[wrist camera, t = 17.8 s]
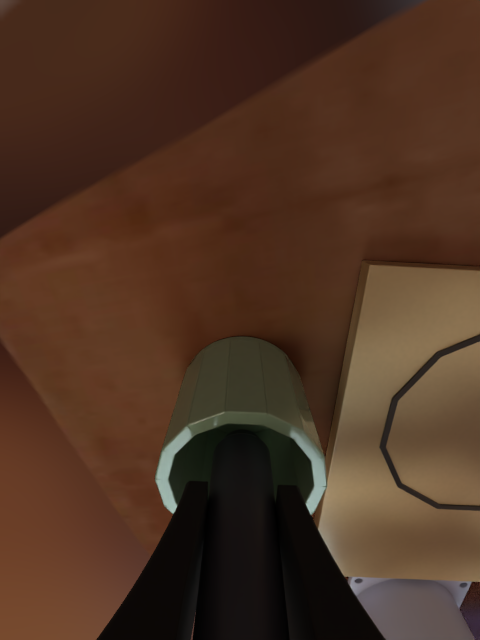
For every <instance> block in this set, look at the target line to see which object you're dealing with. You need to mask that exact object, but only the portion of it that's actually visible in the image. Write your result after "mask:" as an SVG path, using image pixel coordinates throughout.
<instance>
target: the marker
mask: <svg viewBox="0 0 480 640" xmlns="http://www.w3.org/2000/svg"><path fill="white" fill-rule="evenodd" d="M193 640H290V637H289V627H288V618H287V609H286V599H285V590H284V580H283V571H282V562H281V552H280V543H279V533H278V524H277V515H276V505H275V496H274V487H273V477H272V468H271V458H270V452H269V449H268V447H267V445H266V444H265V443H264V442H263V441H262V440H261V439H259V437H258V436H257V435H256V434H255V433H253V432H252V431H249V430H245V429H238V430H234V431H232V432H230V433H228V434H227V435H226V436H225V438H224V439H222V440H221V441H220V442H219V443H218V444H217V446H216V448H215V450H214V453H213V462H212V471H211V480H210V489H209V498H208V507H207V516H206V525H205V534H204V543H203V552H202V561H201V570H200V579H199V588H198V597H197V605H196V614H195V623H194V632H193Z"/></svg>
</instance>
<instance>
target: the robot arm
mask: <svg viewBox="0 0 480 640" xmlns="http://www.w3.org/2000/svg"><path fill="white" fill-rule="evenodd" d="M275 505H276V515H277V524H278V533H279V543H280V552H281V562H282V571H283V580H284V590H285V599H286V609H287V618H288V627H289V637H290V640H475V639H474V637H473V635H472V633H471V631H470V629H469V627H468V625H467V623H466V621H465V619H464V617H463V615H462V614H461V612H460V610H459V608H460V606H461V604H462V602H463V599H464V597H465V595H466V593H467V591H468V589H469V587H470V585H471V583H472V582H470V581H445V580H420V579H395V578H370V577H349V579H348V582H347V580H346V579H345V577H344V575H343V574H342V572H341V570H340V569H339V567H338V565H337V563H336V562H335V560H334V558H333V556H332V555H331V553H330V551H329V549H328V547H327V545H326V544H325V542H324V540H323V538H322V536H321V534H320V532H319V530H318V528H317V526H316V524H315V522H314V520H313V518H312V516H311V514H310V512H309V510H308V508H307V505H306V503H305V501H304V498H303V496H302V494H301V491H300V489H299V487H298V486H297V485H278V488H277V496H276V504H275ZM207 507H208V482H207V481H189V482H187V483H186V485H185V488H184V491H183V494H182V496H181V499H180V501H179V503H178V506H177V508H176V510H175V512H174V514H173V516H172V519H171V521H170V523H169V525H168V527H167V528H166V530H165V532H164V534H163V536H162V538H161V540H160V542H159V544H158V546H157V547H156V549H155V551H154V553H153V554H152V556H151V558H150V560H149V561H148V563H147V565H146V566H145V568H144V570H143V571H142V573H141V575H140V576H139V578H138V580H137V581H136V583H135V584H134V586H133V588H132V589H131V591H130V592H129V594H128V595H127V597H126V598H125V600H124V601H123V603H122V604H121V606H120V607H119V609H118V610H117V612H116V613H115V614H114V616H113V617H112V619H111V620H110V622H109V623H108V624H107V626H106V627H105V628H104V630H103V631H102V633H101V634H100V636H99V637H98V638H97V640H190V639H191V634H192V629H193V623H194V617H195V612H196V605H197V597H198V588H199V579H200V570H201V561H202V552H203V543H204V534H205V525H206V516H207Z"/></svg>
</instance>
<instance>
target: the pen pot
mask: <svg viewBox="0 0 480 640" xmlns="http://www.w3.org/2000/svg"><path fill="white" fill-rule="evenodd" d="M238 429H245V430H249V431H252V432H253V433H255V434H256V435H257V436H258V437H259V439H261V440H262V441H263V442H264V443H265V444H266V445H267V447H268V449H269V452H270V458H271V468H272V477H273V487H274V496H275V504H276V496H277V488H278V485H297V486H298V487H299V489H300V491H301V494H302V496H303V498H304V501H305V503H306V505H307V508H308V510H309V512H310V514H311V515H312V514H313V512H315V510H316V508H317V506H318V504H319V502H320V500H321V498H322V496H323V494H324V492H325V490H326V488H327V474H326V465H325V456H324V453H323V450H322V447H321V443H320V440H319V437H318V434H317V430H316V427H315V424H314V421H313V418H312V414H311V411H310V408H309V405H308V401H307V398H306V395H305V392H304V389H303V385H302V382H301V379H300V376H299V373H298V372H297V371H296V368H295V366H294V364H293V363H292V361H291V360H290V358H289V357H288V356H287V355H286V354H285V353H284V352H283V351H282V350H281V349H279V348H278V347H276V346H275V345H273V344H271V343H269V342H267V341H264V340H261V339H258V338H253V337H245V336H244V337H230V338H225V339H222V340H219V341H216V342H214V343H212V344H210V345H208V346H207V347H205V348H204V349H203V350H201V351H200V352H199V353H198V354H197V355H196V356H195V357H194V359H193V360H192V361H191V363H190V365H189V366H188V368H187V370H186V372H185V375H184V379H183V382H182V385H181V388H180V392H179V395H178V398H177V401H176V405H175V408H174V411H173V414H172V418H171V421H170V424H169V427H168V430H167V434H166V437H165V440H164V443H163V447H162V450H161V454H160V458H159V462H158V466H157V470H156V474H155V481H156V484H157V487H158V490H159V492H160V495H161V498H162V501H163V504H164V506H165V507H166V508H167V509H168V510H169V511H170V512H171V513H172V514H174V512H175V510H176V508H177V506H178V503H179V501H180V499H181V496H182V494H183V491H184V488H185V485H186V483H187V482H189V481H207V482H208V498H209V489H210V480H211V471H212V462H213V453H214V450H215V448H216V446H217V444H218V443H219V442H220V441H221V440H222V439H224V438H225V436H226V435H227V434H228V433H230V432H232V431H234V430H238Z"/></svg>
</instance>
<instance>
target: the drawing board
mask: <svg viewBox="0 0 480 640" xmlns="http://www.w3.org/2000/svg"><path fill="white" fill-rule="evenodd" d="M325 465H326V474H327V488H326V490H325V492H324V494H323V496H322V498H321V500H320V502H319V504H318V506H317V508H316V511H315V516H314V522H315V524H316V526H317V528H318V530H319V532H320V534H321V536H322V538H323V540H324V542H325V544H326V545H327V547H328V549H329V551H330V553H331V555H332V556H333V558H334V560H335V562H336V563H337V565H338V567H339V569H340V570H341V572H342V574H343V575H344V576H345V577H370V578H395V579H420V580H445V581H470V582H480V266H463V265H444V264H425V263H407V262H388V261H369V260H363V261H362V265H361V270H360V275H359V281H358V286H357V291H356V297H355V302H354V307H353V313H352V318H351V323H350V329H349V334H348V340H347V345H346V350H345V356H344V361H343V366H342V372H341V377H340V382H339V388H338V393H337V398H336V404H335V409H334V415H333V420H332V425H331V431H330V436H329V441H328V447H327V452H326V457H325Z"/></svg>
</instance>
